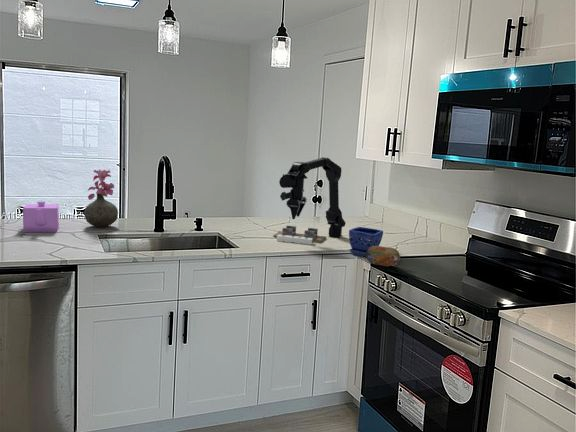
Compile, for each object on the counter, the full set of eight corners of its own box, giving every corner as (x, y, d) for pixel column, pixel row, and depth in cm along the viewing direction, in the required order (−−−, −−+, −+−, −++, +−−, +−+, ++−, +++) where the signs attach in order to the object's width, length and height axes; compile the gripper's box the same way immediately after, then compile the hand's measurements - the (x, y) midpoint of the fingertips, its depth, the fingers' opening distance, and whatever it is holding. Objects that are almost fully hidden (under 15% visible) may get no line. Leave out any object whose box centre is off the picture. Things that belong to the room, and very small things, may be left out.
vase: (108, 231, 274) (108, 172, 269) (76, 228, 276) (76, 169, 272) (123, 225, 290) (123, 170, 285) (92, 222, 293) (93, 167, 288)
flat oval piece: (365, 262, 243) (366, 244, 241) (367, 261, 245) (369, 243, 244) (397, 268, 236) (399, 249, 234) (399, 267, 239) (401, 248, 237)
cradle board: (325, 238, 291) (326, 229, 290) (321, 242, 279) (322, 233, 278) (279, 233, 297) (279, 224, 296) (273, 237, 285) (273, 227, 285)
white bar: (312, 243, 277) (312, 237, 276) (310, 245, 273) (311, 239, 272) (278, 240, 281) (278, 233, 280) (276, 241, 277) (276, 235, 276)
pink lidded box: (21, 234, 254) (21, 205, 252) (27, 224, 277) (27, 197, 275) (56, 234, 259) (56, 205, 257) (59, 224, 283) (59, 198, 280)
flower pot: (382, 254, 262) (384, 230, 260) (372, 259, 250) (374, 233, 248) (357, 249, 268) (359, 226, 266) (346, 254, 257) (348, 229, 255)
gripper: (287, 184, 283) (285, 213, 286) (277, 187, 265) (275, 218, 268) (307, 186, 280) (305, 215, 283) (299, 189, 263) (297, 221, 265)
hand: (295, 217), depth 275 cm, fingers open, 9 cm apart
